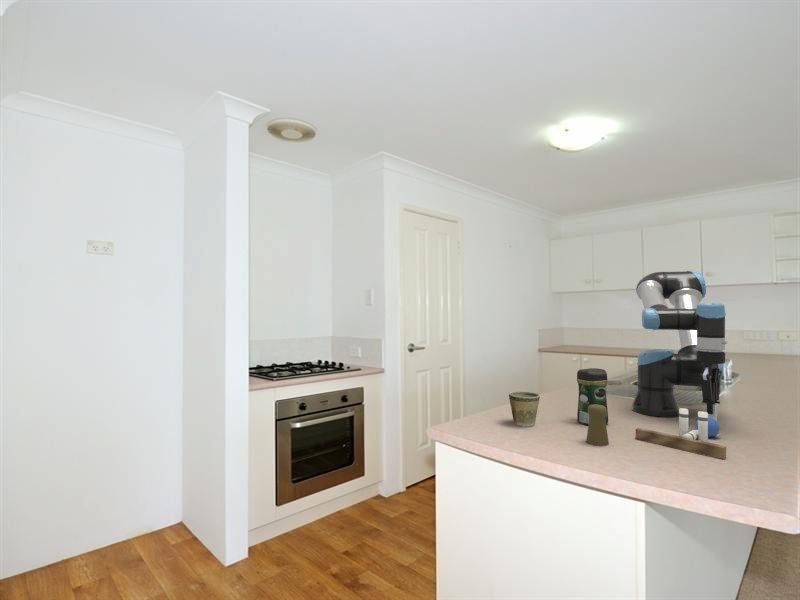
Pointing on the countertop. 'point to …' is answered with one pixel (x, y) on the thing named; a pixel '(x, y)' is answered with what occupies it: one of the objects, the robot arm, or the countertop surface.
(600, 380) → the coffee jar
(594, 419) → the olive tall tapered piece
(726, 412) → the countertop surface
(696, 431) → the pin front
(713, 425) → the ball
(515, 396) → the ceramic cup
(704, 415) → the pin back right
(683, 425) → the pin back left
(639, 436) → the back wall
